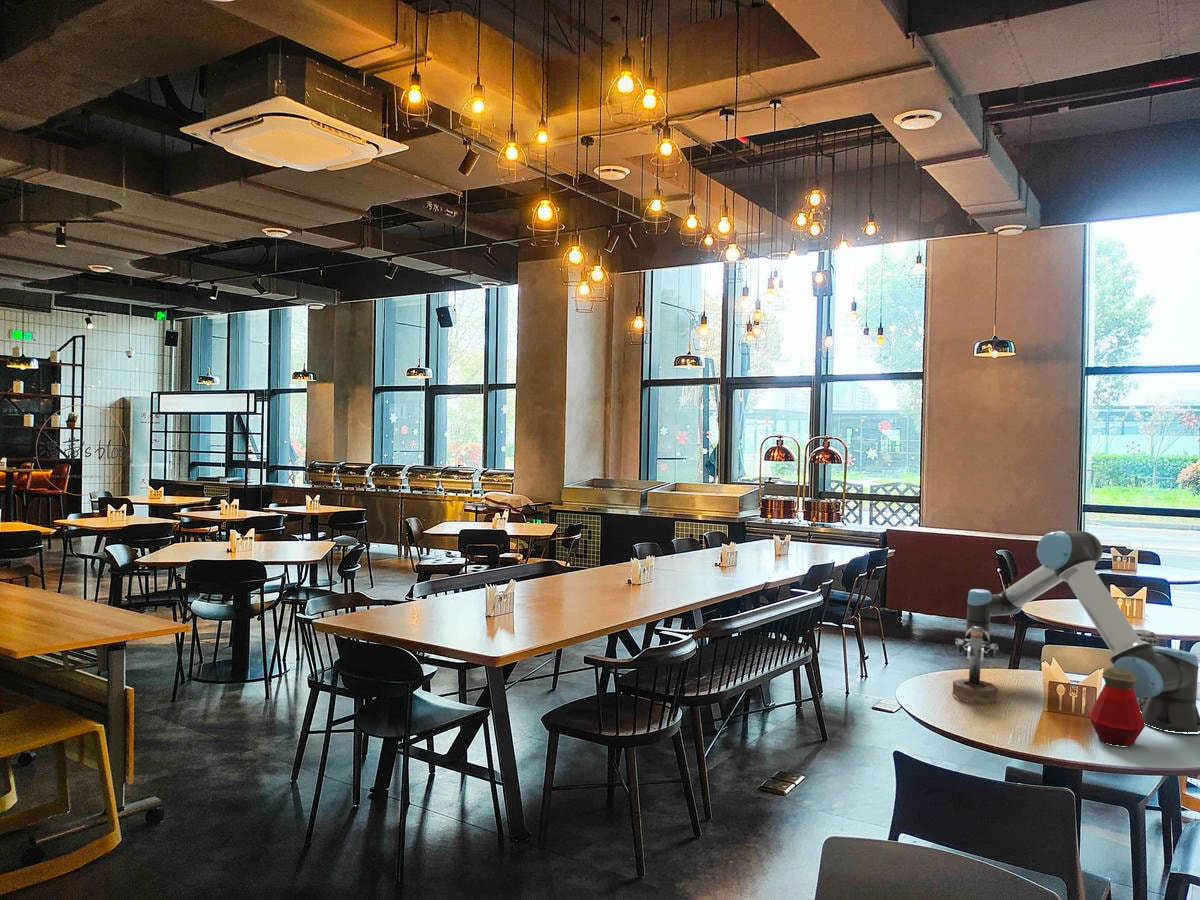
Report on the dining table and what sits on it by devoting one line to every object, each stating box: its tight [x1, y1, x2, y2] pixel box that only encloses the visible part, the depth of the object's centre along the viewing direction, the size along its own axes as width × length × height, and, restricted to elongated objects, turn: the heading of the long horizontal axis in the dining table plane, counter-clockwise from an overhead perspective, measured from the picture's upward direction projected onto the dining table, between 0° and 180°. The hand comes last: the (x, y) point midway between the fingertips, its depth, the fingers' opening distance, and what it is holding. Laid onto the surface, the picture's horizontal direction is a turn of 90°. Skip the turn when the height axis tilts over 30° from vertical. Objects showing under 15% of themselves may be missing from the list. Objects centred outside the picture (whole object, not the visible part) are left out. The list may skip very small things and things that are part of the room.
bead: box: [952, 678, 998, 705], centre depth 270 cm, size 12×12×4 cm
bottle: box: [1088, 667, 1146, 747], centre depth 234 cm, size 16×14×20 cm
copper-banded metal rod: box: [968, 626, 982, 684], centre depth 270 cm, size 3×3×18 cm
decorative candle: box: [1134, 629, 1159, 712], centre depth 264 cm, size 9×9×25 cm
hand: (975, 655), depth 265 cm, fingers closed on copper-banded metal rod, 3 cm apart
